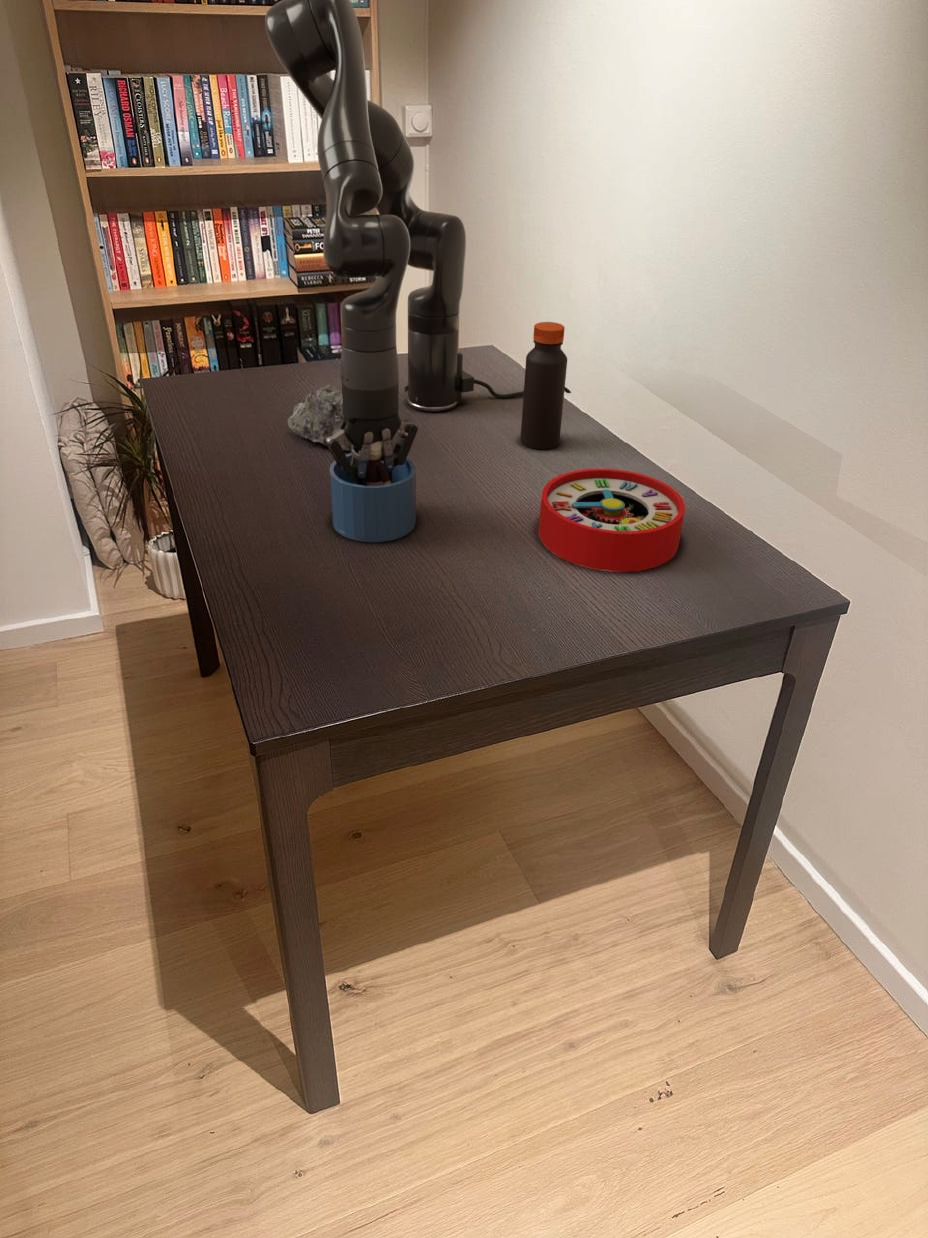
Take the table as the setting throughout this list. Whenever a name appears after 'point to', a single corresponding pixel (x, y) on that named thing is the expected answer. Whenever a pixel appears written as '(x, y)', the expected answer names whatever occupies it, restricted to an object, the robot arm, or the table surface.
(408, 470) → the bowl
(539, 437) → the bottle
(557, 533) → the toy clock
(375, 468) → the grandmother figurine
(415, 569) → the table surface
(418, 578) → the table surface
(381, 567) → the table surface
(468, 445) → the table surface
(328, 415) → the mineral rock
